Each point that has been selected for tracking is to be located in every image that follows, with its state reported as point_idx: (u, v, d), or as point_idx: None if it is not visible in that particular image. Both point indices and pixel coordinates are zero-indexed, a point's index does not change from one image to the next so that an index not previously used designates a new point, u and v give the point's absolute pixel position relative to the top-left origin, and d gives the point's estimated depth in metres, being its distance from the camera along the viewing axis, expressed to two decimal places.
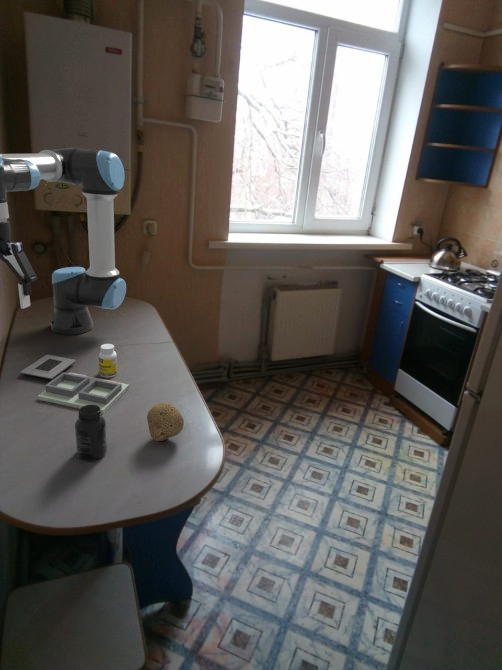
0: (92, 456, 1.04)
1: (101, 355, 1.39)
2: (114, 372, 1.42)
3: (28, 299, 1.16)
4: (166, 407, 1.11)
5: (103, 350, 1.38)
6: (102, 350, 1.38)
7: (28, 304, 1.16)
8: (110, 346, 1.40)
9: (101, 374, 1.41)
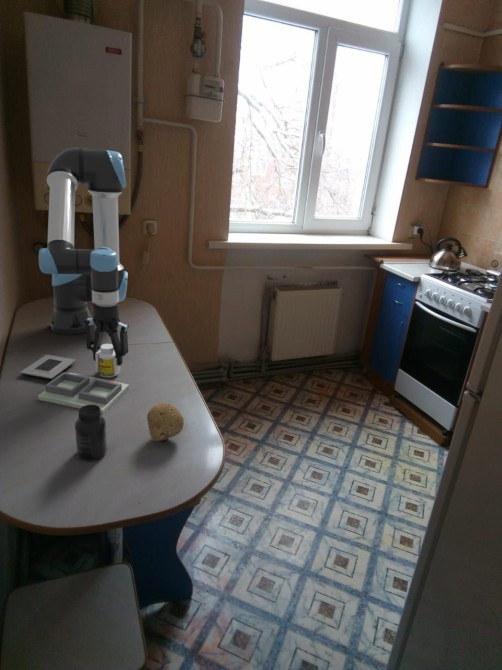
0: (92, 456, 1.04)
1: (101, 355, 1.39)
2: None
3: (119, 367, 1.42)
4: (166, 407, 1.11)
5: (103, 350, 1.38)
6: (102, 350, 1.38)
7: (119, 371, 1.43)
8: (110, 346, 1.40)
9: (101, 374, 1.41)
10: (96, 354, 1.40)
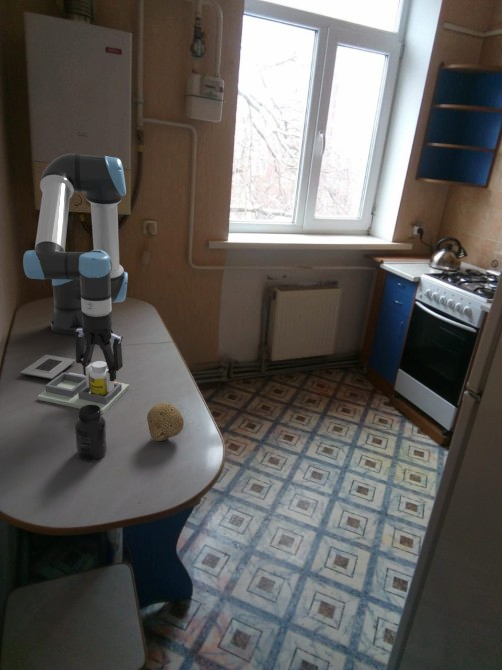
0: (92, 456, 1.04)
1: (92, 374, 1.25)
2: (107, 392, 1.28)
3: (113, 383, 1.28)
4: (166, 407, 1.11)
5: (94, 368, 1.24)
6: (93, 368, 1.25)
7: (112, 387, 1.29)
8: (102, 364, 1.26)
9: None
10: (86, 368, 1.26)
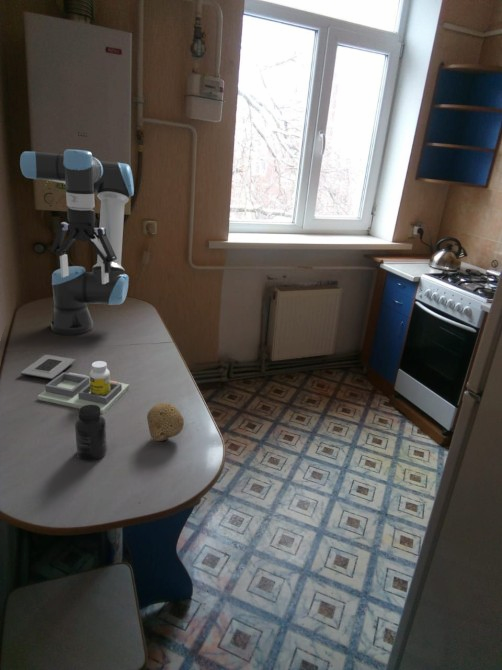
0: (92, 456, 1.04)
1: (92, 374, 1.25)
2: (107, 392, 1.28)
3: (107, 276, 1.36)
4: (166, 407, 1.11)
5: (94, 368, 1.24)
6: (93, 368, 1.25)
7: (107, 280, 1.36)
8: (102, 364, 1.26)
9: None
10: (60, 257, 1.35)
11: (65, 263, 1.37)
